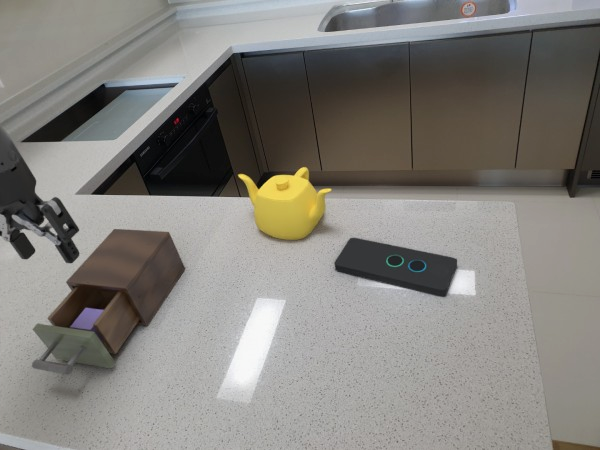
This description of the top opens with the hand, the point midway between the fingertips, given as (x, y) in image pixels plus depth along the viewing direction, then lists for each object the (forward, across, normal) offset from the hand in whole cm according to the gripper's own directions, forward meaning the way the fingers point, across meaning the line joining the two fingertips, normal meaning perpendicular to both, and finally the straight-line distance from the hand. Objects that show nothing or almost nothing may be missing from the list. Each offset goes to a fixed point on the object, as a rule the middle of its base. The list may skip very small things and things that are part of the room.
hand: (51, 257), depth 69 cm
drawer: (+18, 0, -1) cm, 18 cm away
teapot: (+19, +24, +36) cm, 47 cm away
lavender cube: (+17, 0, -1) cm, 17 cm away
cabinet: (+19, 0, +11) cm, 22 cm away
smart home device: (+19, +47, +23) cm, 56 cm away
